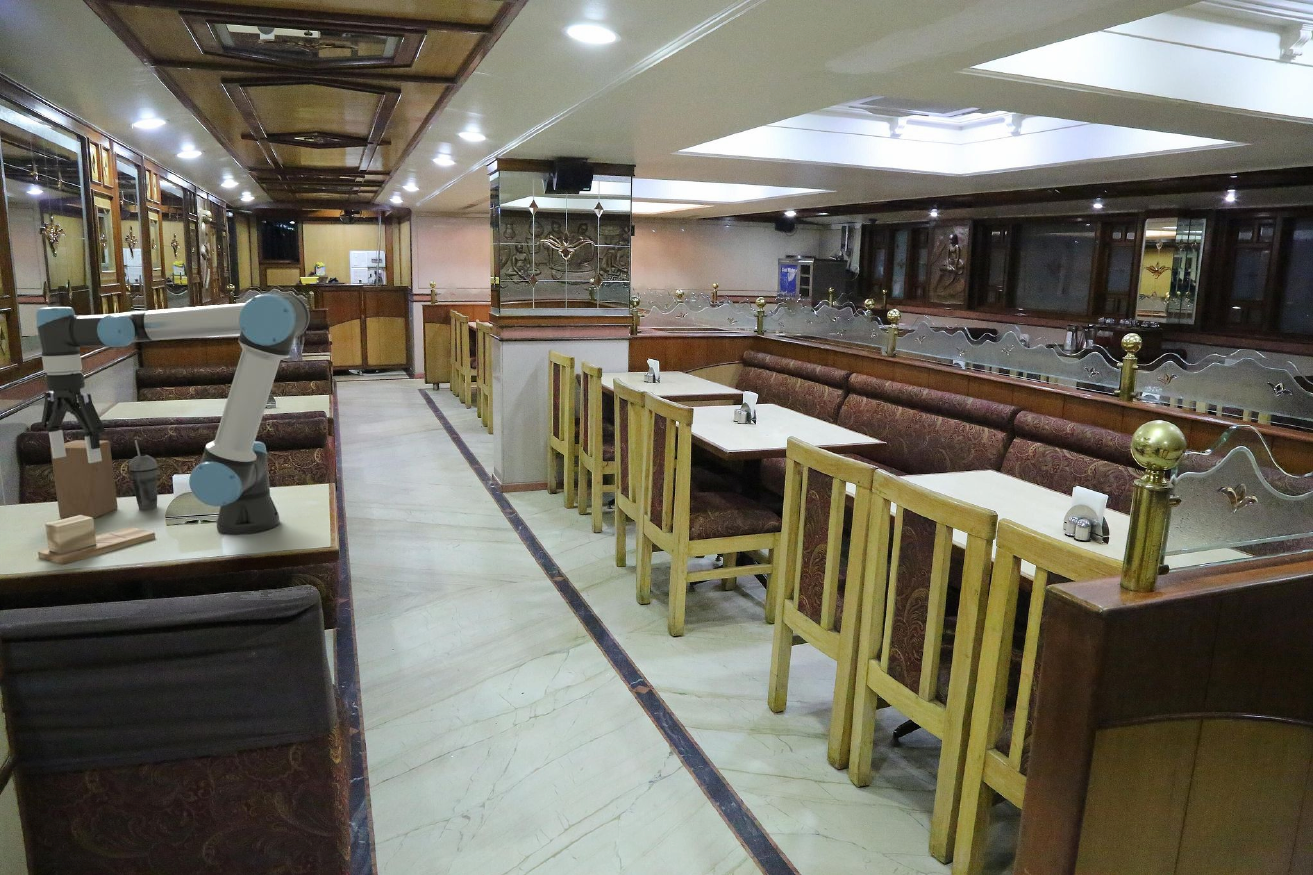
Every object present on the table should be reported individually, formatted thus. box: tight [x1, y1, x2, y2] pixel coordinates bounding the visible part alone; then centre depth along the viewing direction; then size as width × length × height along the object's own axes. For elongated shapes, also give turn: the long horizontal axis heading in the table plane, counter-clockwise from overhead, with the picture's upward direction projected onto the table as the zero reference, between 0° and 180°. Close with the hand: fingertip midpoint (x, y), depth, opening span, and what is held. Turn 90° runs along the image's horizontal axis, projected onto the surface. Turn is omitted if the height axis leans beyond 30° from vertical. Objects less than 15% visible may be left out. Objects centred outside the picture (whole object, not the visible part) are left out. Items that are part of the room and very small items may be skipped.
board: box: [37, 526, 156, 565], centre depth 206 cm, size 10×22×2 cm, turn 153°
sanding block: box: [44, 515, 97, 555], centre depth 200 cm, size 5×8×7 cm, turn 154°
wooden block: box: [49, 439, 119, 519], centre depth 232 cm, size 10×10×20 cm
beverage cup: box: [128, 440, 159, 511], centre depth 238 cm, size 7×7×20 cm
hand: (77, 459), depth 203 cm, fingers open, 13 cm apart
